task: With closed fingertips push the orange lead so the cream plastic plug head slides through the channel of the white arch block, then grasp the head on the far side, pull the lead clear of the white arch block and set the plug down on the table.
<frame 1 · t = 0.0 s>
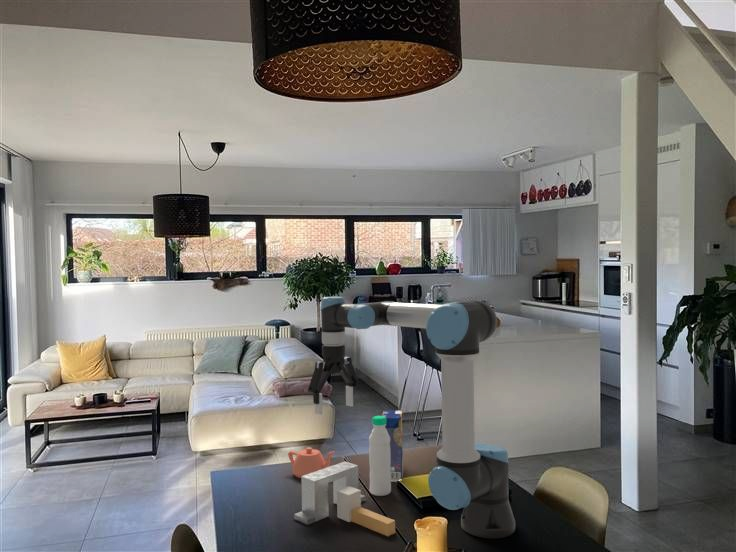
hand: (334, 409, 195), 28 cm above the table, fingers open, 13 cm apart
teapot: (311, 474, 215), on the table
beverage box: (393, 476, 212), on the table
water bottle: (380, 493, 197), on the table
white arch block: (331, 509, 184), on the table
plug: (349, 517, 179), on the table
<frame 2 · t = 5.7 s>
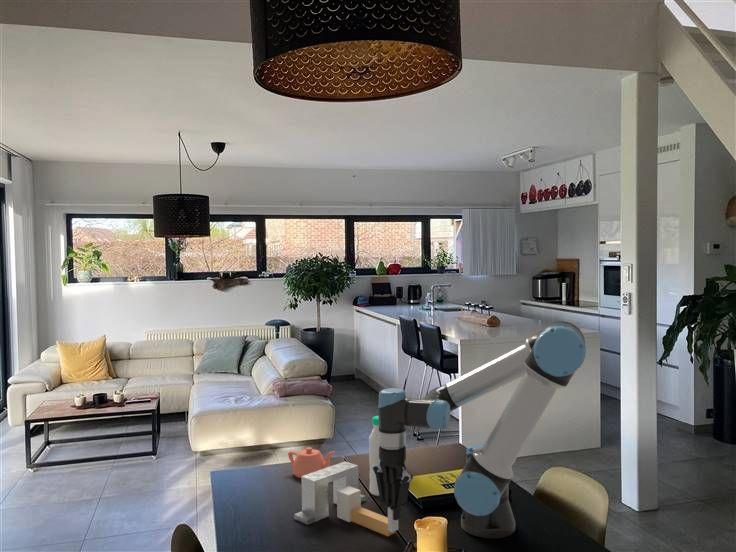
hand: (393, 529, 166), 2 cm above the table, fingers closed
plug: (349, 517, 179), on the table, touching gripper
everything else where it was.
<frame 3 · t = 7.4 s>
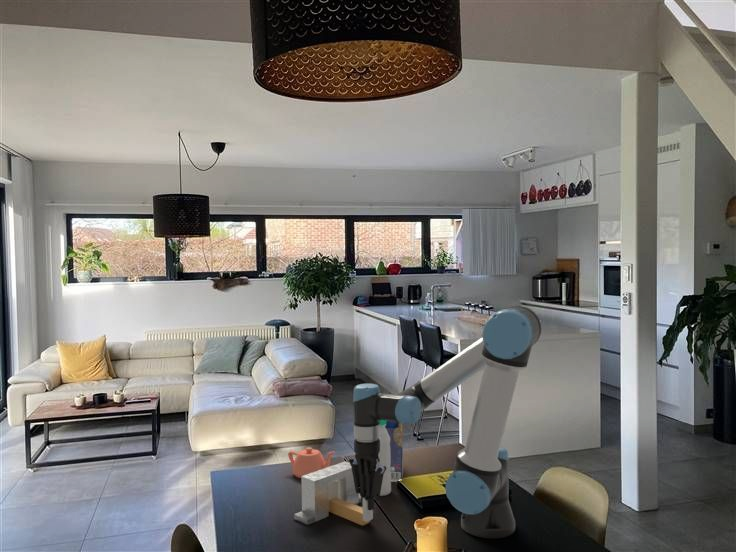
hand: (367, 519, 173), 2 cm above the table, fingers closed
plug: (327, 507, 186), on the table, touching gripper
everything else where it was.
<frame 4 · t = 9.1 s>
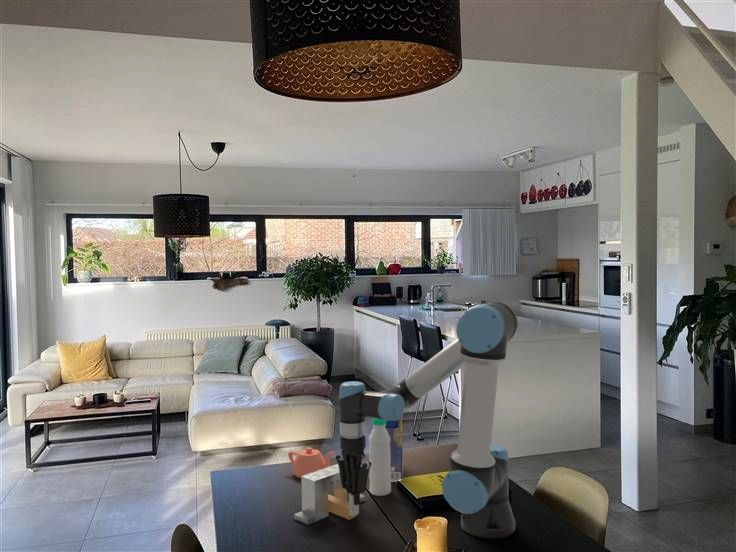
hand: (354, 514, 177), 1 cm above the table, fingers closed
plug: (315, 502, 190), on the table, touching gripper
everything else where it was.
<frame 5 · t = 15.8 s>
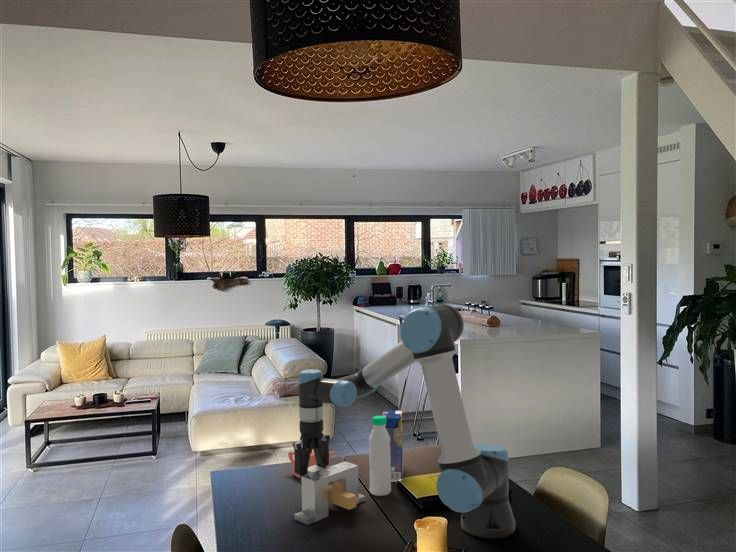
hand: (312, 492, 190), 3 cm above the table, fingers closed on plug, 5 cm apart
plug: (314, 493, 190), point 3 cm above the table, touching gripper
everything else where it was.
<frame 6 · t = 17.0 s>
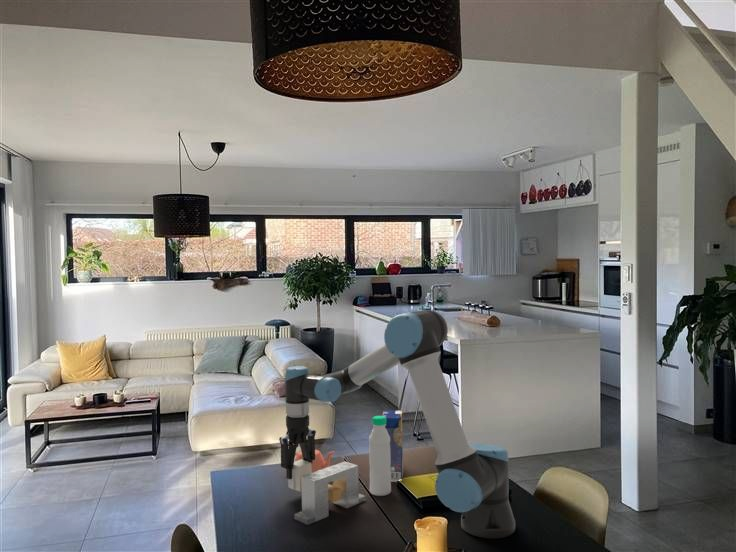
hand: (298, 485, 195), 4 cm above the table, fingers closed on plug, 5 cm apart
plug: (300, 487, 194), point 3 cm above the table, touching gripper
everything else where it was.
when the fingers open (1 cm above the table, at t = 18.8 s): plug stays where it is, on the table.
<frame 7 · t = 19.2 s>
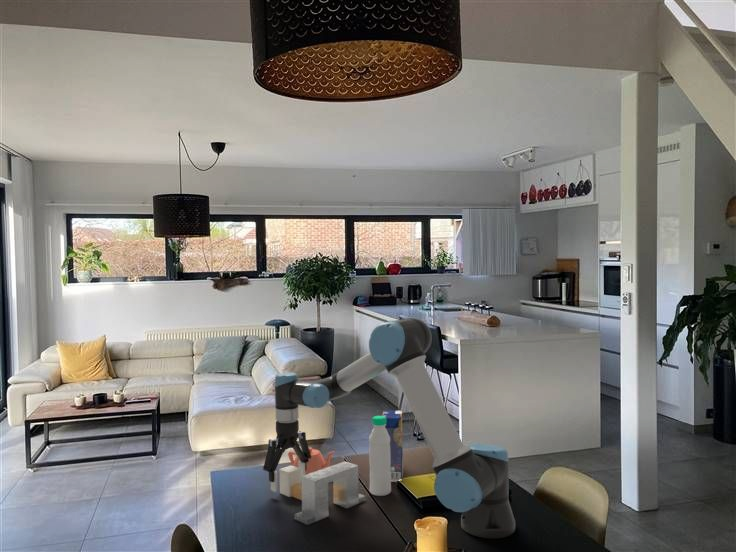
hand: (288, 486, 199), 2 cm above the table, fingers open, 11 cm apart
plug: (290, 492, 198), on the table
everything else where it was.
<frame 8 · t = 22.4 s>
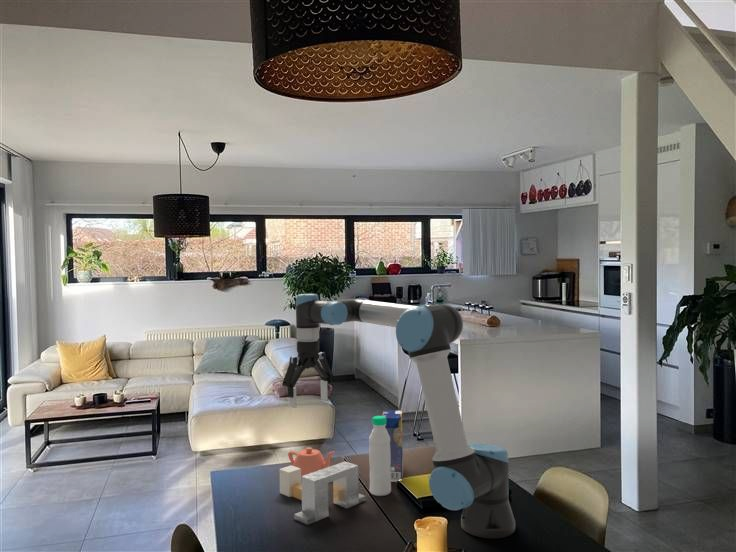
hand: (309, 403, 201), 29 cm above the table, fingers open, 13 cm apart
nothing on the table moved.
at the end: plug inside the target area (2.9 cm from its centre), on the table; plug tilted 0°; the gripper is holding nothing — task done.
